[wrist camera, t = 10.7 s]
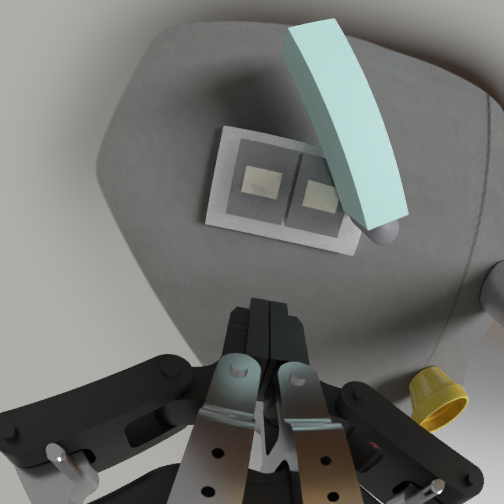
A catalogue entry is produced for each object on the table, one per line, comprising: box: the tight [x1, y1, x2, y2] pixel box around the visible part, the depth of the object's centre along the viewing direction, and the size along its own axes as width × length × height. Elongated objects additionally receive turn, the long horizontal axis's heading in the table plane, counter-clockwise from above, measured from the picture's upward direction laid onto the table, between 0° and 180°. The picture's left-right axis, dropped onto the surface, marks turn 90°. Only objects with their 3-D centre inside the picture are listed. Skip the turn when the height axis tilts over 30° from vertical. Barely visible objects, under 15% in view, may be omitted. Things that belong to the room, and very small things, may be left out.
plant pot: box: [409, 366, 469, 433], centre depth 33 cm, size 10×10×10 cm
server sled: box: [205, 126, 362, 256], centre depth 26 cm, size 16×10×4 cm, turn 78°
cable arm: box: [281, 19, 409, 246], centre depth 18 cm, size 17×4×6 cm, turn 22°
